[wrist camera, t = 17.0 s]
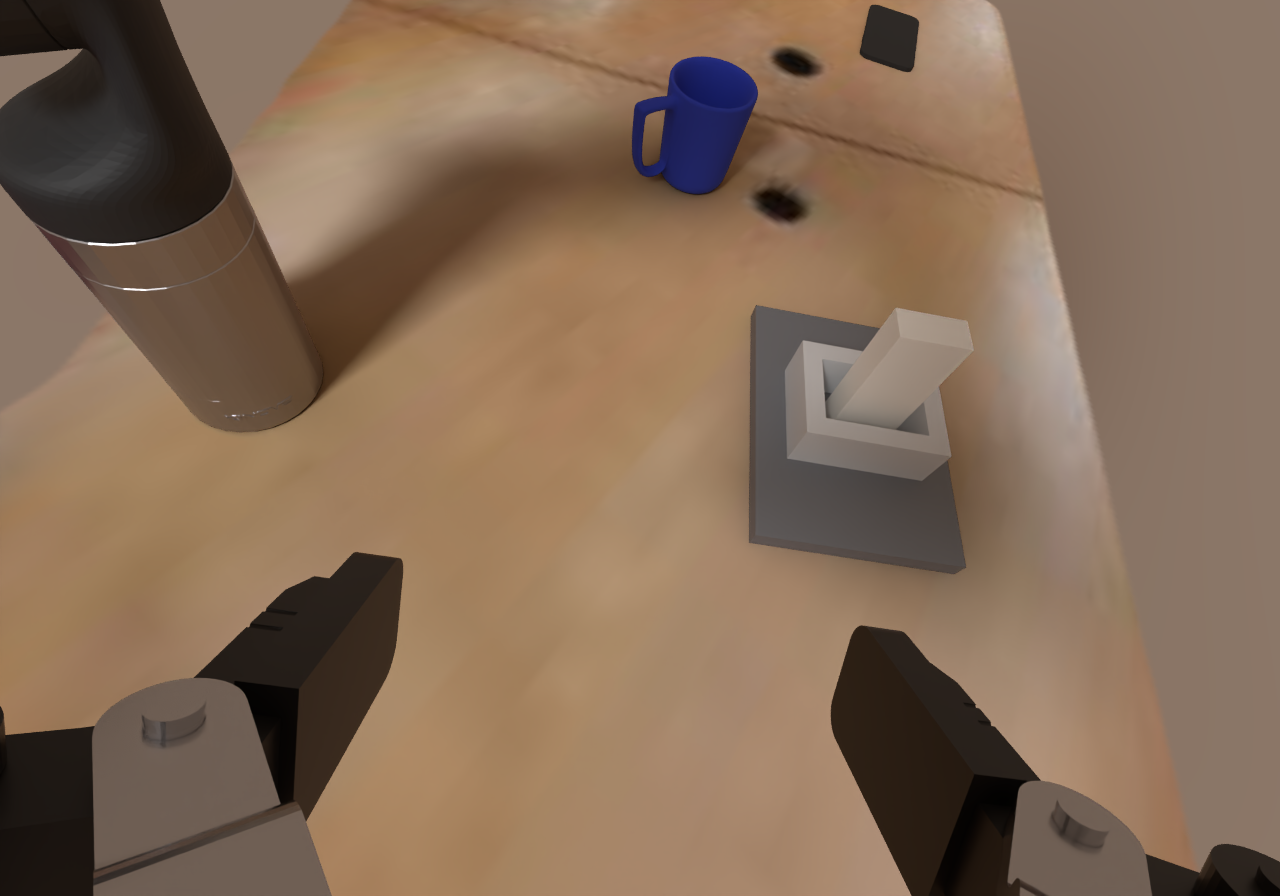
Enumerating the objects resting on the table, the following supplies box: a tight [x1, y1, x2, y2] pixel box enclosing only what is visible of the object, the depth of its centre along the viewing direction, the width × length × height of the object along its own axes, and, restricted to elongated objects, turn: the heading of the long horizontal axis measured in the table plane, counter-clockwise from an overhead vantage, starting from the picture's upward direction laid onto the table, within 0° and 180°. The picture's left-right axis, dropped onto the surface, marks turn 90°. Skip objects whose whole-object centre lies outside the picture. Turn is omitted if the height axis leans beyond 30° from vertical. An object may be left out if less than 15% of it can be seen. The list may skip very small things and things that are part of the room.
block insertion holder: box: [749, 305, 966, 574], centre depth 50 cm, size 22×16×6 cm
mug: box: [632, 57, 758, 194], centre depth 61 cm, size 8×12×10 cm
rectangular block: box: [825, 308, 974, 430], centre depth 46 cm, size 2×5×12 cm, turn 85°
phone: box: [860, 5, 919, 72], centre depth 87 cm, size 7×1×15 cm
